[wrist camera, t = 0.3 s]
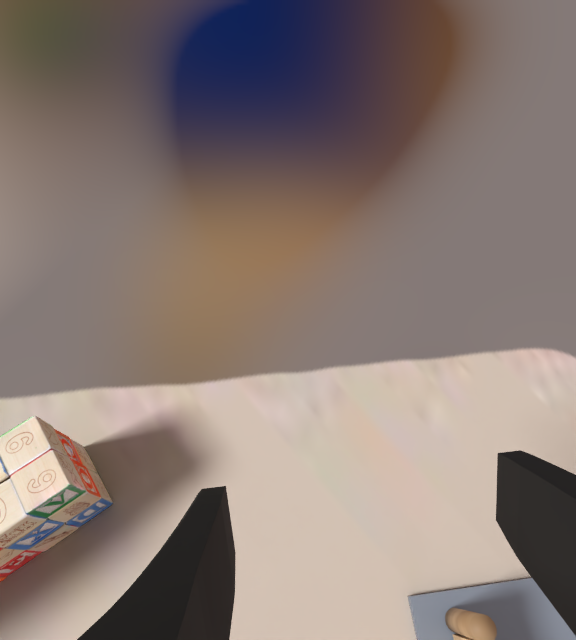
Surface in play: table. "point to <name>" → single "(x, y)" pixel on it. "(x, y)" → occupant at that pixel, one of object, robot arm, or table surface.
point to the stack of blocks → (43, 491)
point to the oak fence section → (470, 625)
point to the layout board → (492, 611)
